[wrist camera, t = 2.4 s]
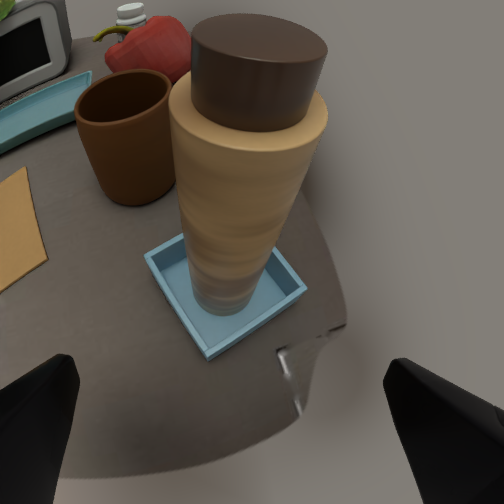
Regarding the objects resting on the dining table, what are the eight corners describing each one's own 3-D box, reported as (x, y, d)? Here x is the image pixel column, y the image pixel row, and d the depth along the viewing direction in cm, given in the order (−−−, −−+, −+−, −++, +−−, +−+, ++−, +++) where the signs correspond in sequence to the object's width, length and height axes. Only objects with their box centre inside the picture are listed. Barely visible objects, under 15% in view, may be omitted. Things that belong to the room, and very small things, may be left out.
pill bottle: (120, 47, 36) (115, 5, 29) (147, 41, 38) (145, 0, 30) (119, 58, 35) (113, 13, 27) (148, 52, 36) (146, 6, 28)
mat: (48, 259, 21) (46, 258, 20) (-12, 302, 18) (-14, 301, 18) (26, 167, 24) (25, 165, 24) (-25, 204, 22) (-26, 202, 21)
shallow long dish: (-61, 196, 21) (-70, 186, 19) (-47, 151, 24) (-53, 141, 22) (95, 119, 28) (91, 103, 26) (95, 83, 31) (92, 69, 29)
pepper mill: (264, 295, 22) (386, 68, 6) (214, 328, 20) (234, 98, 4) (230, 249, 23) (274, 4, 7) (181, 278, 21) (138, 24, 5)
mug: (215, 133, 29) (221, 54, 20) (235, 189, 26) (248, 104, 18) (101, 156, 26) (78, 81, 17) (102, 218, 23) (65, 140, 15)
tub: (294, 302, 22) (308, 288, 19) (208, 361, 20) (207, 357, 16) (235, 225, 24) (239, 202, 21) (151, 273, 22) (142, 254, 19)
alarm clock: (-13, 110, 28) (-42, 39, 14) (1, 79, 32) (-19, 17, 18) (71, 71, 32) (54, -12, 19) (75, 46, 36) (64, -22, 22)
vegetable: (126, 108, 24) (94, 23, 18) (112, 107, 32) (87, 44, 25) (220, 69, 27) (195, -8, 21) (185, 75, 35) (164, 14, 28)
